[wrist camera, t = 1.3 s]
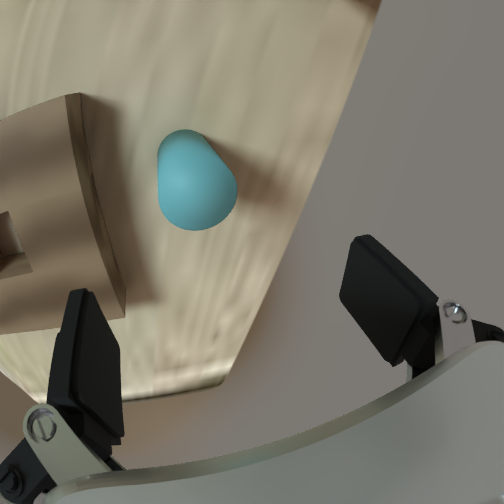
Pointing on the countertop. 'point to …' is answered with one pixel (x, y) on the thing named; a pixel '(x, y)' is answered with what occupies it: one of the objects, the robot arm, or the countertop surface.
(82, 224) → the socket block
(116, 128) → the countertop surface
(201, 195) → the dowel peg
